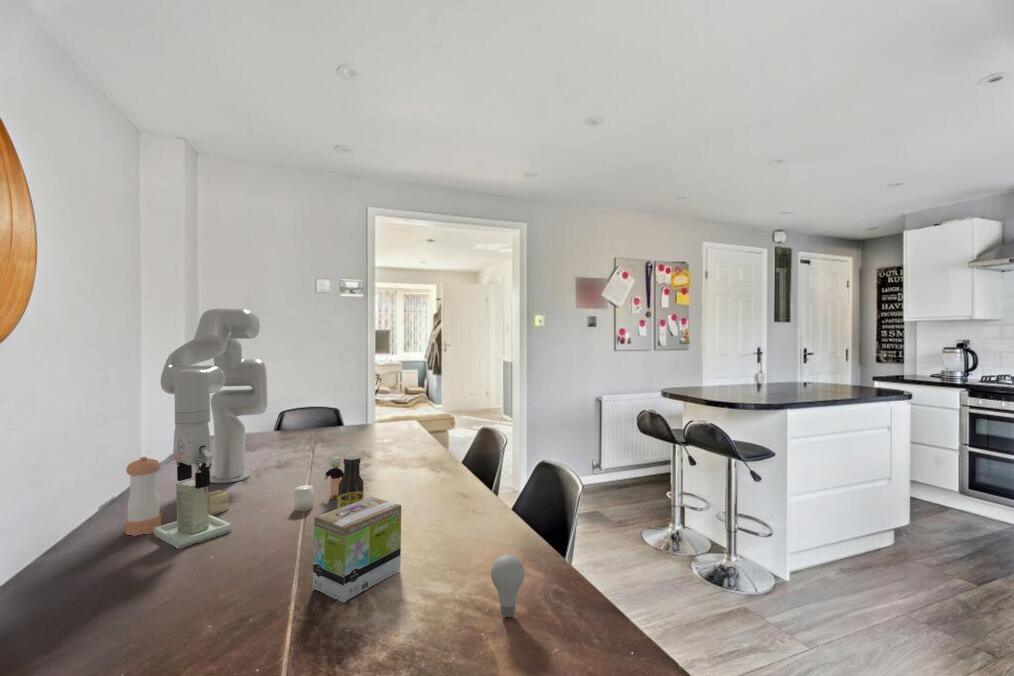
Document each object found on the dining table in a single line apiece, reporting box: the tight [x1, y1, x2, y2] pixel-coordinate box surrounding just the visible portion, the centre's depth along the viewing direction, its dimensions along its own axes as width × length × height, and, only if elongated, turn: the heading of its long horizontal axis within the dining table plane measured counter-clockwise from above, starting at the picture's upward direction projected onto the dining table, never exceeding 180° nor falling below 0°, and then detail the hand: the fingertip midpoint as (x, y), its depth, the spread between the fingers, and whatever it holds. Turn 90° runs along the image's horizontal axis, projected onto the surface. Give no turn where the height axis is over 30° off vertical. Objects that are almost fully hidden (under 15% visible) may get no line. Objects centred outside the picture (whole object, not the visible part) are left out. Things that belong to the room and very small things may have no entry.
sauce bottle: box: [336, 455, 365, 509], centre depth 118 cm, size 7×6×20 cm
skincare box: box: [175, 479, 209, 534], centre depth 119 cm, size 6×4×12 cm
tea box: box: [312, 496, 402, 604], centre depth 97 cm, size 15×10×15 cm, turn 148°
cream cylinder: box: [294, 484, 314, 512], centre depth 137 cm, size 5×5×6 cm
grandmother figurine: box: [323, 456, 344, 500], centre depth 146 cm, size 8×4×13 cm, turn 84°
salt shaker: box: [125, 456, 162, 536], centre depth 121 cm, size 7×7×19 cm
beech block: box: [208, 489, 230, 516], centre depth 135 cm, size 5×5×5 cm
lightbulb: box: [490, 554, 526, 618], centre depth 84 cm, size 6×6×11 cm
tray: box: [153, 515, 232, 550], centre depth 119 cm, size 14×12×2 cm
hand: (193, 483), depth 120 cm, fingers open, 9 cm apart
